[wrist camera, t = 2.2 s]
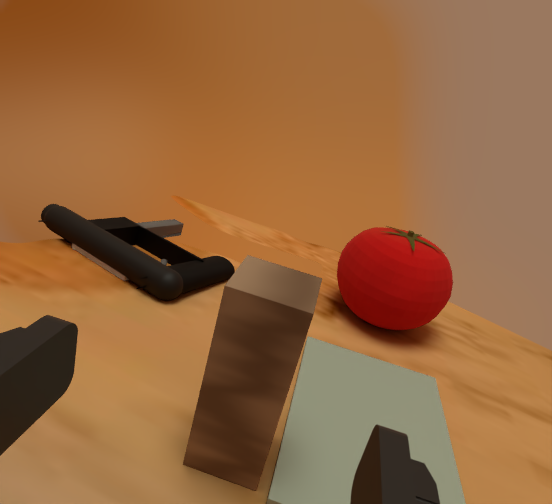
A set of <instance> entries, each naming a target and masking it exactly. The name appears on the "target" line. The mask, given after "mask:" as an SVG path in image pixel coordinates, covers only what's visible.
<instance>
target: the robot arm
mask: <svg viewBox="0 0 552 504" xmlns="http://www.w3.org/2000/svg"><path fill="white" fill-rule="evenodd" d="M77 334H78V328H77V326H76V324H74V323H71V322H68V321H65V320H62V319H59V318H56V317H53V316H49V315H46V316H44V317H42V318H40V319H39V320H37V321H36V322H34V323H33V324H31V325H30V326H28V327H27V328H22V327H19V328H16V329H12V330H9V331H6V332H3V333H0V455H1V454H2V453H3V452H4V451H5V450H7V449H8V448H9V447H10V446H11V445H12V444H13V443H14V442H15V441H16V440H17V439H18V438H19V437H20V436H21V435H22V434H23V433H24V432H25V431H26V430H27V429H28V428H29V427H30V426H31V425H32V424H33V423H34V422H35V421H36V420H38V419H39V418H40V417H41V416H42V415H43V414H44V413H45V412H46V411H47V410H48V409H49V408H50V407H51V406H52V405H53V404H54V403H55V402H56V401H57V400H58V399H59V398H60V397H61V396H62V395H63V394H64V393H65V391H66V390H67V388H68V387H69V385H70V383H71V380H72V378H73V374H74V366H75V355H76V345H77ZM350 504H440V500H439V495H438V489H437V484H436V482H435V480H434V479H433V477H432V475H431V474H430V472H429V470H428V468H427V467H426V465H425V463H422V462H419V461H416V460H413V459H411V456H410V448H409V441H408V436H407V434H405V433H402V432H399V431H396V430H393V429H390V428H387V427H384V426H381V425H378V424H377V425H375V427H374V428H373V430H372V433H371V435H370V438H369V440H368V442H367V445H366V447H365V450H364V452H363V455H362V457H361V460H360V462H359V465H358V467H357V470H356V473H355V476H354V480H353V484H352V490H351V503H350Z"/></svg>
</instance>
